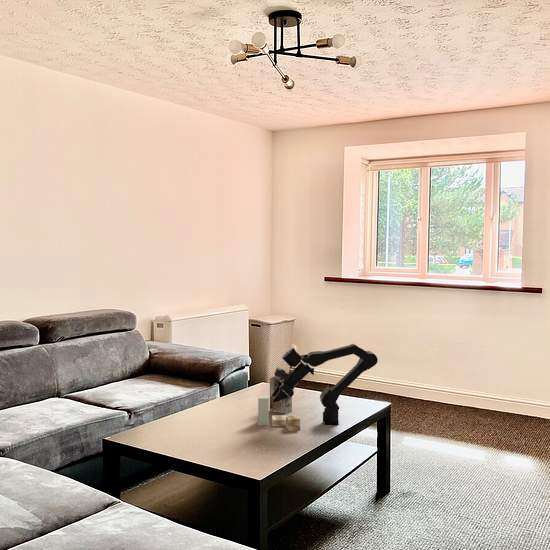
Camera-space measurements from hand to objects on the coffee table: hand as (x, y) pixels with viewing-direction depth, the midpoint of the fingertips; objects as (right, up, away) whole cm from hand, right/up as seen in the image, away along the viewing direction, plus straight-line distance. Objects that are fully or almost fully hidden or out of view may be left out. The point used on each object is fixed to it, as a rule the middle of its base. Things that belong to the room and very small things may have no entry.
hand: (272, 398), depth 263 cm
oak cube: (+9, -12, -6) cm, 16 cm away
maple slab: (+3, -11, +1) cm, 12 cm away
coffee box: (+4, -10, +20) cm, 23 cm away
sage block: (-4, -11, 0) cm, 12 cm away
